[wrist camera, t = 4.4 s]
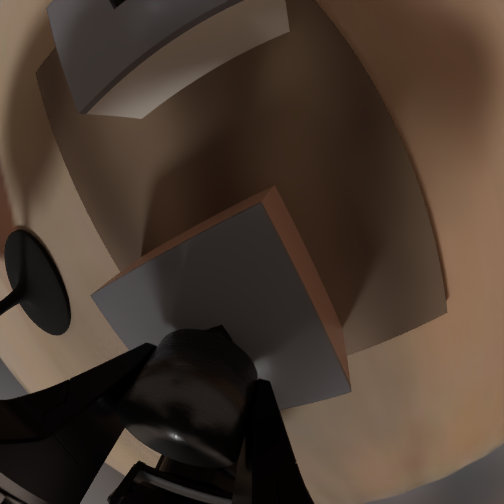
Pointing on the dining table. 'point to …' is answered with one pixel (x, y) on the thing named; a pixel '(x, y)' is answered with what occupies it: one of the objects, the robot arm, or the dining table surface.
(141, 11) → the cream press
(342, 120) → the walnut board
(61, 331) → the wine glass
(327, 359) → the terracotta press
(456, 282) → the dining table surface
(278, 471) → the robot arm
